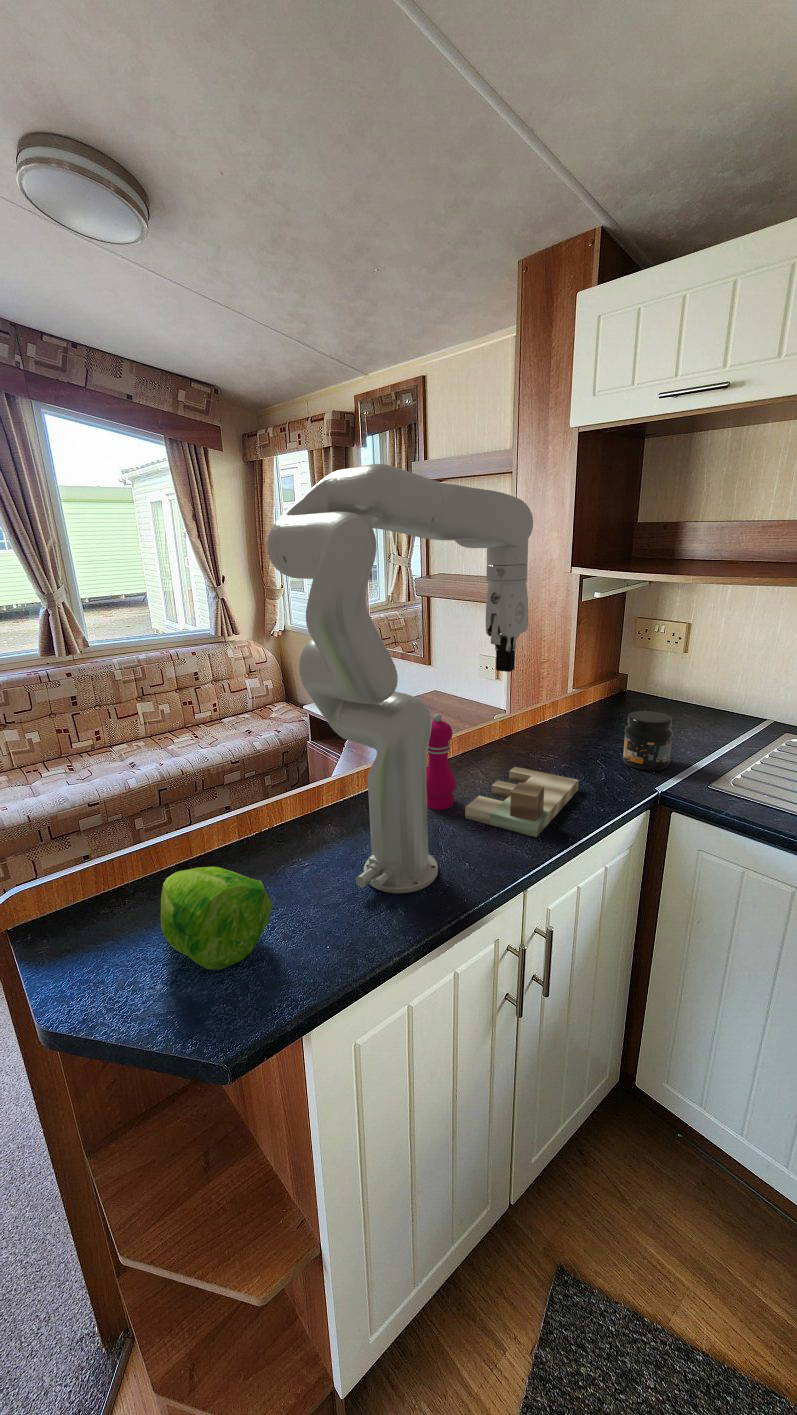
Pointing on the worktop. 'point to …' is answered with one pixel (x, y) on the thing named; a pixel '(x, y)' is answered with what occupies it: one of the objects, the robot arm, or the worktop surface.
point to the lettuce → (213, 915)
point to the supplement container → (648, 740)
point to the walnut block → (527, 801)
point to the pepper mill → (439, 766)
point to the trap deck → (498, 803)
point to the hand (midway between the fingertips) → (505, 670)
